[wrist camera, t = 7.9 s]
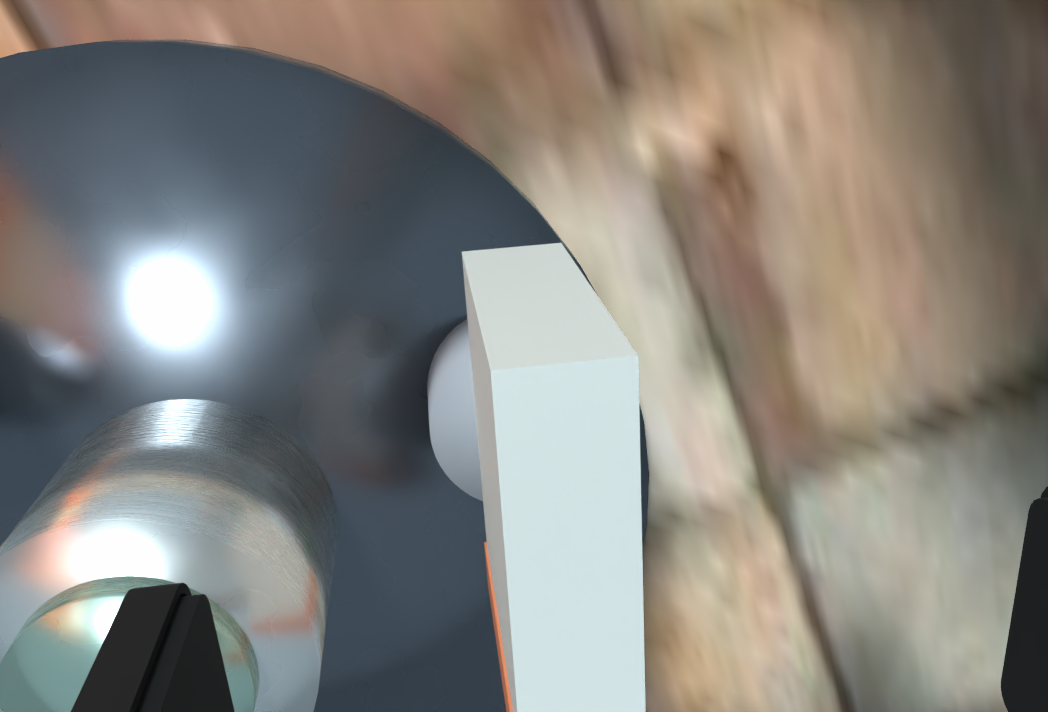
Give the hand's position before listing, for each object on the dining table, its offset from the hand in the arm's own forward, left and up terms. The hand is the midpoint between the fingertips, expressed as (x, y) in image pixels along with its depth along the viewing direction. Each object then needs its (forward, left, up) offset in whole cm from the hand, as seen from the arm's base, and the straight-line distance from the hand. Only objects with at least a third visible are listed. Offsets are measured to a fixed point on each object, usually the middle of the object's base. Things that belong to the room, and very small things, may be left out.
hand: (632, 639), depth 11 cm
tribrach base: (+7, +3, -12) cm, 14 cm away
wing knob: (0, +1, -10) cm, 10 cm away
